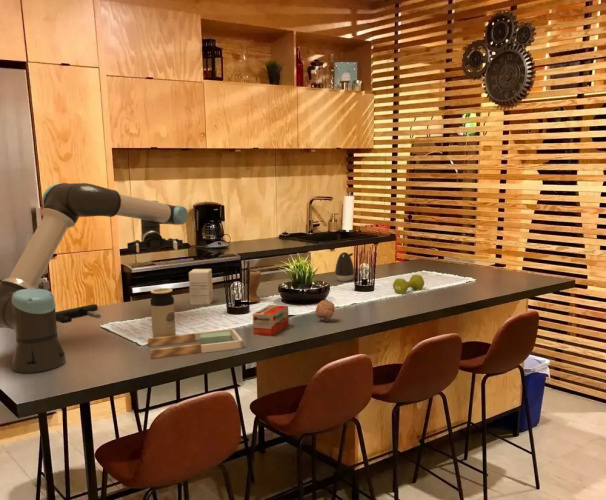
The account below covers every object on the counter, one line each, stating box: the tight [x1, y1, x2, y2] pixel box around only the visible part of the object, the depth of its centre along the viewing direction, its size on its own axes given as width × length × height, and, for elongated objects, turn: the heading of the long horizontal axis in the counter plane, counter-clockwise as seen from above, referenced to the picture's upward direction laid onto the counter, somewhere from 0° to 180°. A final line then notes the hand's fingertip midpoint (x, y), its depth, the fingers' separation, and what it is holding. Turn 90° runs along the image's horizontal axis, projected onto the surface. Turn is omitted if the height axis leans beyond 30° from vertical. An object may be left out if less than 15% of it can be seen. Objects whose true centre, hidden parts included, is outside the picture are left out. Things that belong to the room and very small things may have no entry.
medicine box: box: [252, 304, 290, 337], centre depth 209 cm, size 15×8×8 cm, turn 159°
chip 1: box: [200, 333, 216, 345], centre depth 191 cm, size 5×5×4 cm
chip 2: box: [215, 331, 232, 343], centre depth 192 cm, size 5×5×4 cm
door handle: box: [55, 304, 102, 324], centre depth 236 cm, size 3×20×16 cm
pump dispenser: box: [334, 252, 355, 282], centre depth 299 cm, size 10×10×15 cm
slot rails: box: [147, 332, 201, 359], centre depth 189 cm, size 16×14×3 cm
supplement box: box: [188, 268, 214, 306], centre depth 255 cm, size 9×9×15 cm
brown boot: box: [249, 268, 262, 304], centre depth 257 cm, size 15×12×15 cm
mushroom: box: [315, 299, 336, 323], centre depth 219 cm, size 8×6×8 cm
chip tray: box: [194, 328, 244, 354], centre depth 194 cm, size 14×16×2 cm
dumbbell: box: [392, 274, 425, 295], centre depth 269 cm, size 16×8×7 cm, turn 131°
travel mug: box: [150, 287, 177, 338], centre depth 199 cm, size 8×8×18 cm
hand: (157, 247), depth 204 cm, fingers open, 13 cm apart
